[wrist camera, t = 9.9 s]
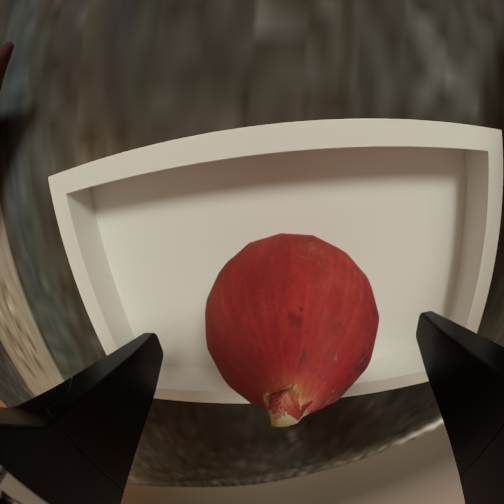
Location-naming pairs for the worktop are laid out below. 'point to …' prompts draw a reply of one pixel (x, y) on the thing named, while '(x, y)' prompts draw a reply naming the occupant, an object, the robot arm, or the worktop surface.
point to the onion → (291, 324)
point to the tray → (285, 231)
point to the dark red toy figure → (4, 59)
